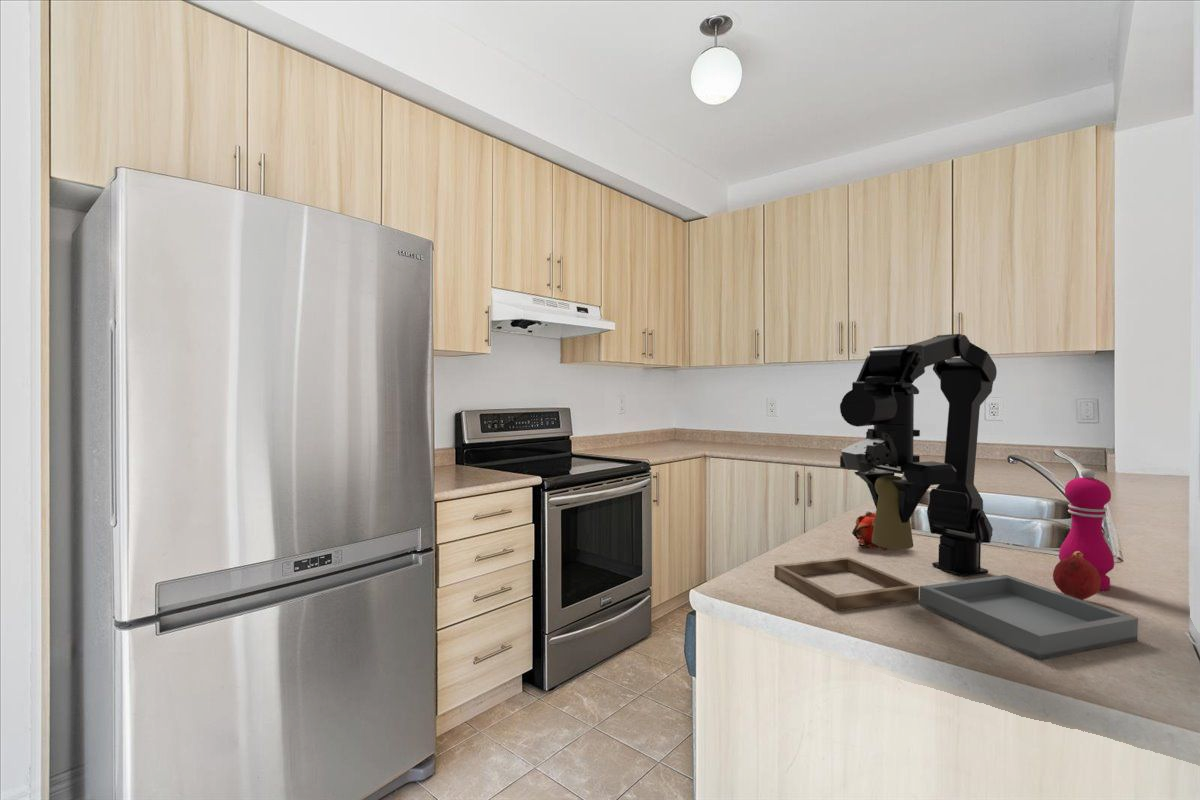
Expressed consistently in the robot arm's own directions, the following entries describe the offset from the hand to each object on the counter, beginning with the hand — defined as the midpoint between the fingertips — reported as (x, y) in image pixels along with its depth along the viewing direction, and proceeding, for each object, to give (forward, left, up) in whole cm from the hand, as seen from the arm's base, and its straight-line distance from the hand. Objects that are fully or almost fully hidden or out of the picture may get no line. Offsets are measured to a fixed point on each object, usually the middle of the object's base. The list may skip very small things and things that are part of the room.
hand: (892, 518), depth 90 cm
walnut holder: (+5, -6, -13) cm, 15 cm away
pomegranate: (-26, +10, -13) cm, 31 cm away
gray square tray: (-10, +13, -13) cm, 21 cm away
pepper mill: (-36, +5, -13) cm, 39 cm away
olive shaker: (0, 0, -4) cm, 4 cm away
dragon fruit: (-18, -23, -13) cm, 32 cm away
